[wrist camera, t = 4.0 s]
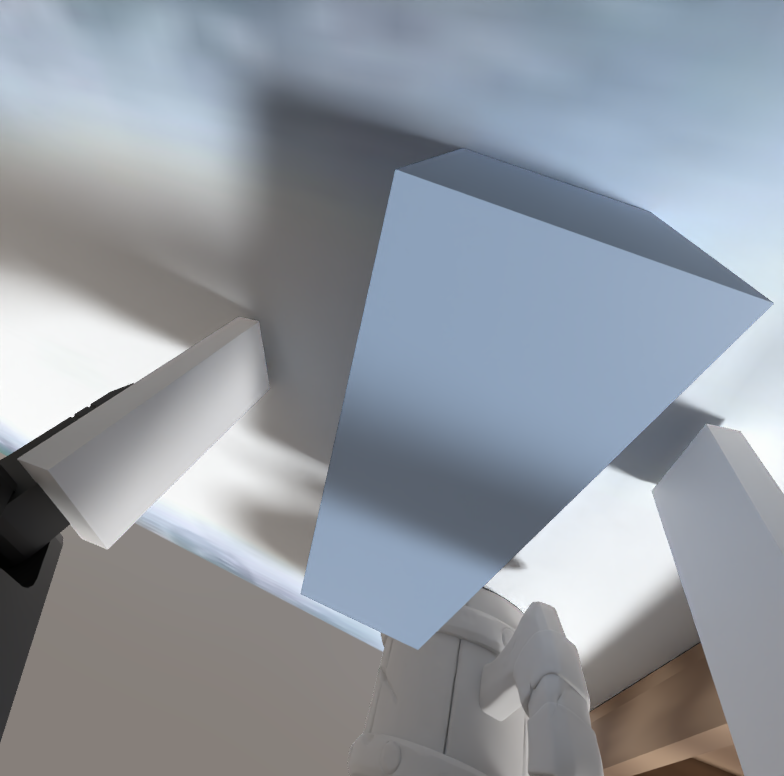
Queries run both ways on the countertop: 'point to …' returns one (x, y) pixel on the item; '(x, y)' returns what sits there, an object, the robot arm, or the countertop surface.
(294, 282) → the countertop surface
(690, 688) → the tray
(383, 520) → the long blue-grey cuboid
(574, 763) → the mug
